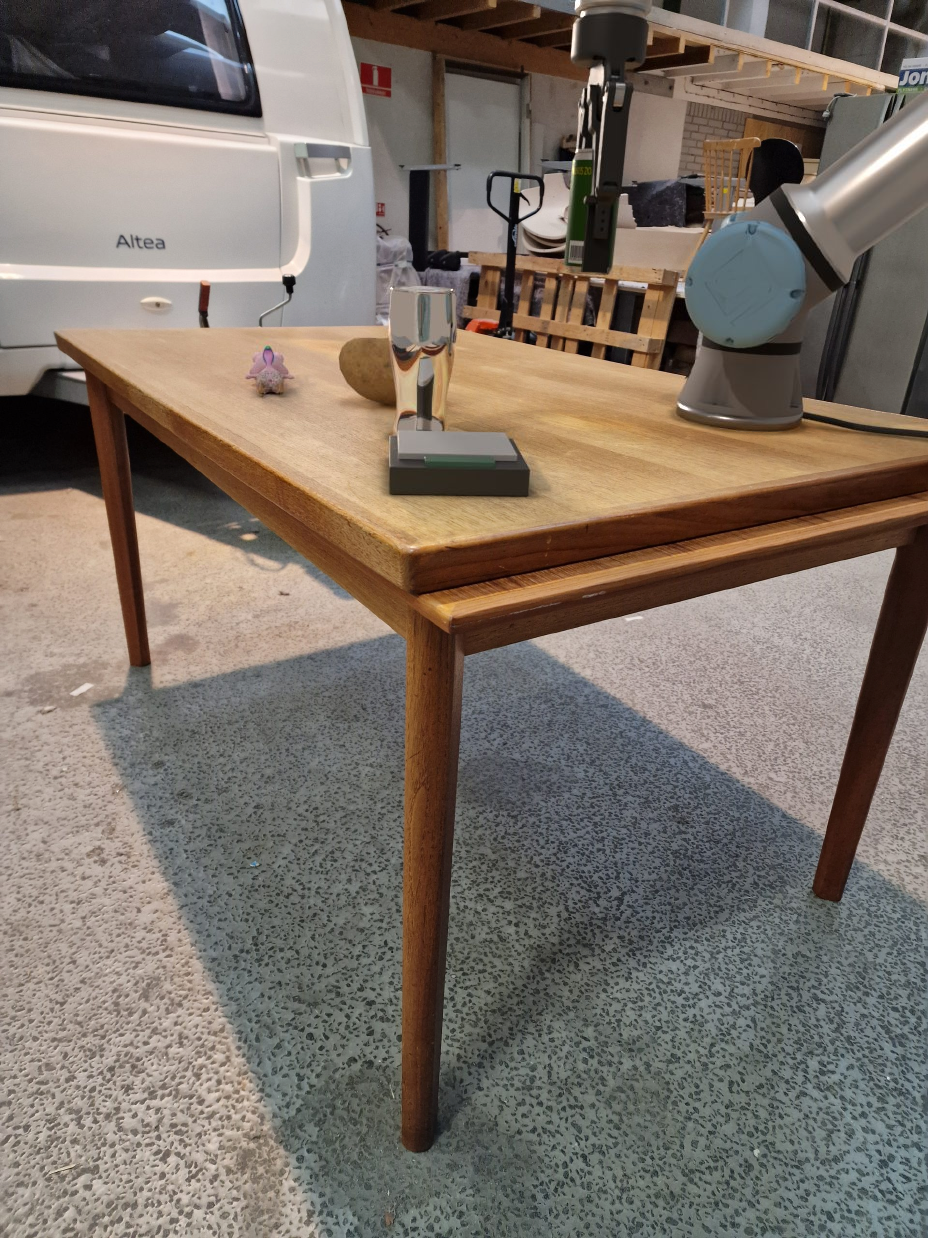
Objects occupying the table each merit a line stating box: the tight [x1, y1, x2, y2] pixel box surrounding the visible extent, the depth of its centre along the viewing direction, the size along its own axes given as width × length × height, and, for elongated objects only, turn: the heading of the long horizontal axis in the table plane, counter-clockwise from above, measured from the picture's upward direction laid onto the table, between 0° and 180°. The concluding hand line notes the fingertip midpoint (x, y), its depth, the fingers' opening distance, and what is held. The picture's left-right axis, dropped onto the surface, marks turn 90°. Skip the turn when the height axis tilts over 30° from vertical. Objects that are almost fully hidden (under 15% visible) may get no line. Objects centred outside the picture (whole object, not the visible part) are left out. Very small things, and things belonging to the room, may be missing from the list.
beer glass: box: [387, 285, 458, 436], centre depth 85 cm, size 7×7×15 cm
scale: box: [388, 430, 531, 497], centre depth 75 cm, size 12×11×3 cm
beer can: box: [563, 148, 621, 276], centre depth 89 cm, size 5×5×12 cm
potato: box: [338, 337, 396, 406], centre depth 102 cm, size 10×14×8 cm
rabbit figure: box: [244, 344, 295, 397], centre depth 109 cm, size 6×6×15 cm
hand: (587, 270), depth 92 cm, fingers closed on beer can, 5 cm apart
